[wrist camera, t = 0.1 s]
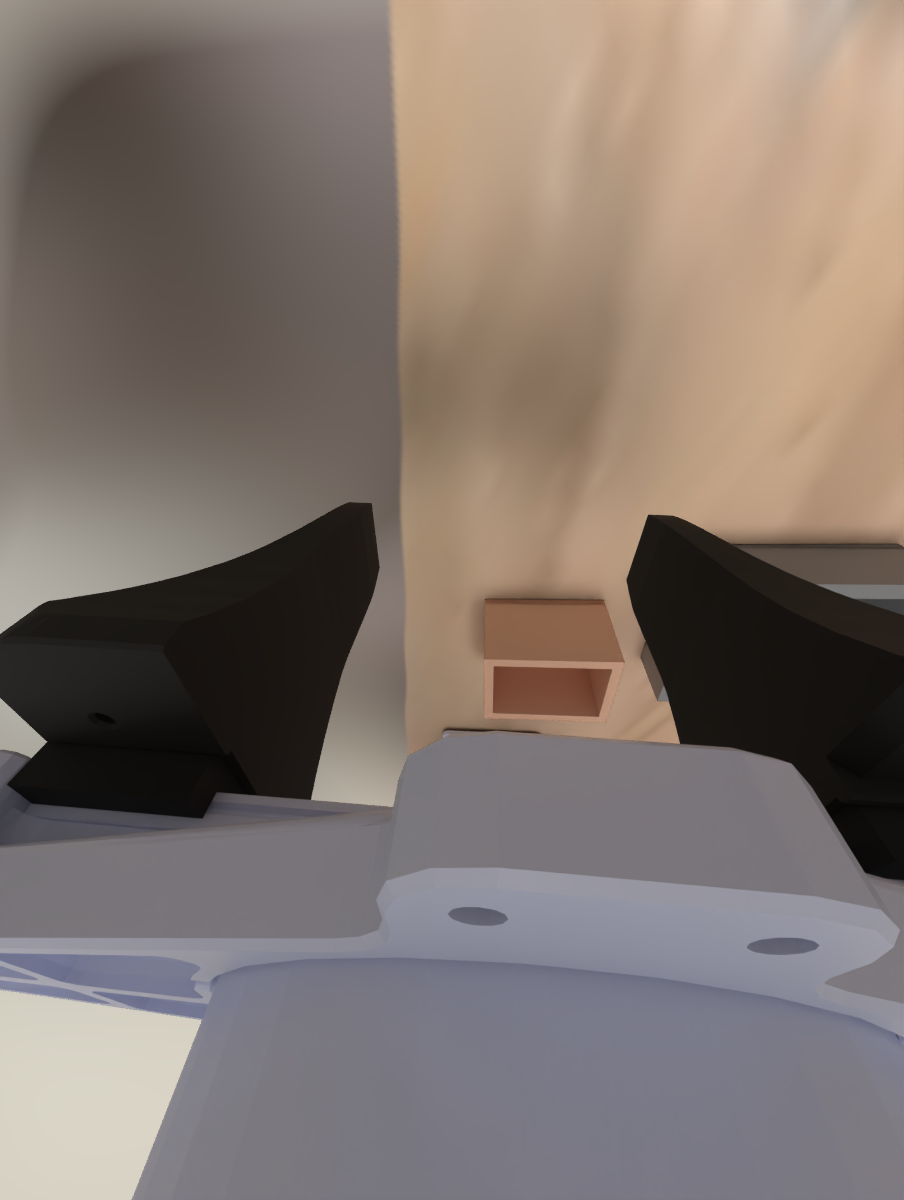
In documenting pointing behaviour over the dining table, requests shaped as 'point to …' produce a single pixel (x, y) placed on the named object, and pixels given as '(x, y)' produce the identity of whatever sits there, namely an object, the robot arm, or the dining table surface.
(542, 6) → the dining table surface
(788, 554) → the large crate
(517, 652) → the small crate
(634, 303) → the dining table surface
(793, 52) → the dining table surface
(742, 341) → the dining table surface
